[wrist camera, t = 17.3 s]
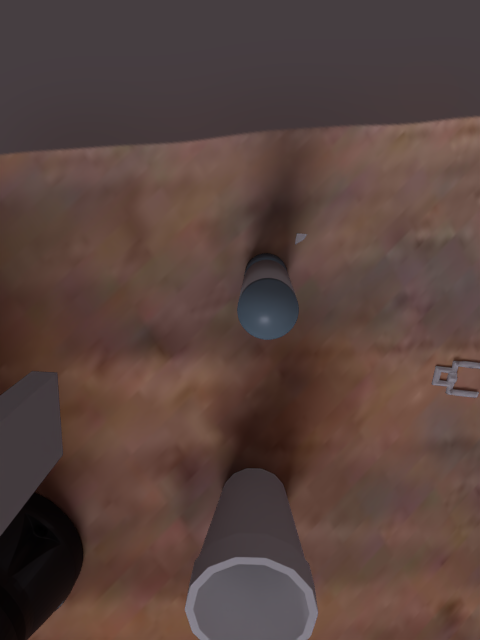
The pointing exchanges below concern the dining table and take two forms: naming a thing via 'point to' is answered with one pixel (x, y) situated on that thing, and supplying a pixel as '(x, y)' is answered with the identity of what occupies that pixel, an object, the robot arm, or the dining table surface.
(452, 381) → the small grey pieces
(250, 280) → the cylinder
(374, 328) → the dining table surface
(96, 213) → the dining table surface
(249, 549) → the foam cup
